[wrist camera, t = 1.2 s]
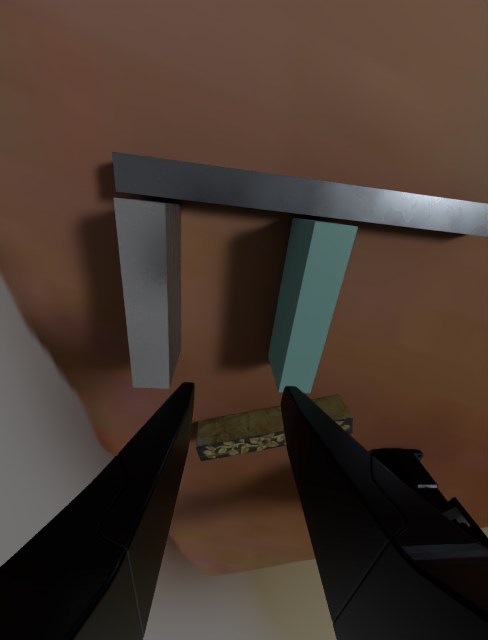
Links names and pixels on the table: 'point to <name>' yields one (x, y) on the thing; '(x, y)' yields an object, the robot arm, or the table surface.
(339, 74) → the table surface
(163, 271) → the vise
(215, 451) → the decorative block
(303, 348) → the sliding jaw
